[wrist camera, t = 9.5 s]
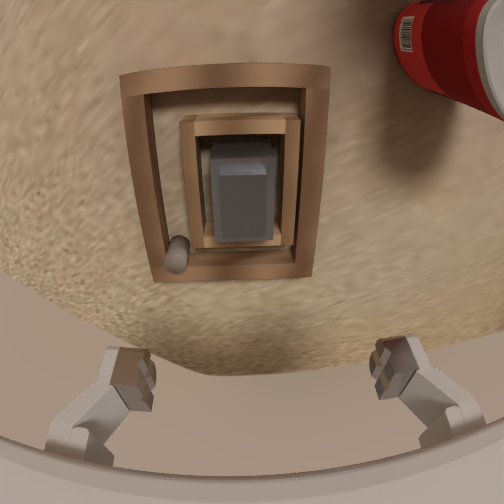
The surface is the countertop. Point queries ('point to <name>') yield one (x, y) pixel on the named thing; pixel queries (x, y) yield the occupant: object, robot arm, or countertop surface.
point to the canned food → (455, 50)
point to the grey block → (242, 189)
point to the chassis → (191, 127)
